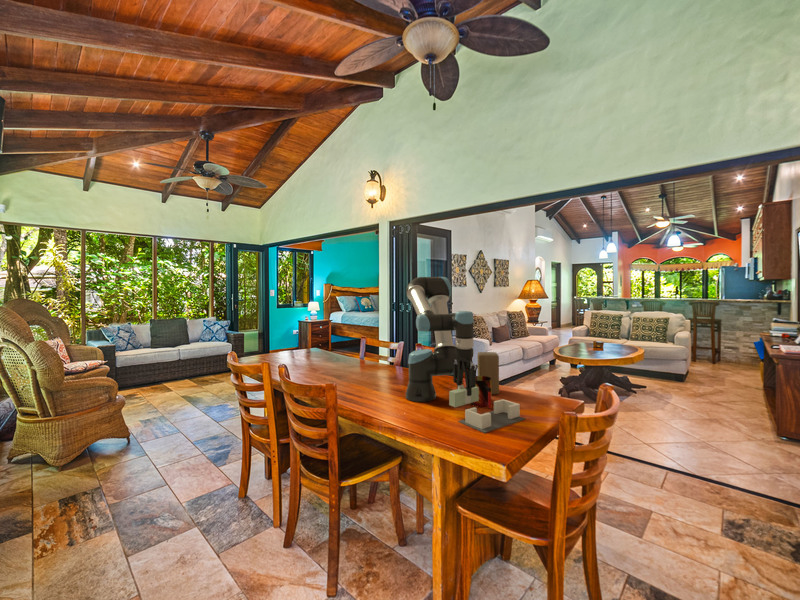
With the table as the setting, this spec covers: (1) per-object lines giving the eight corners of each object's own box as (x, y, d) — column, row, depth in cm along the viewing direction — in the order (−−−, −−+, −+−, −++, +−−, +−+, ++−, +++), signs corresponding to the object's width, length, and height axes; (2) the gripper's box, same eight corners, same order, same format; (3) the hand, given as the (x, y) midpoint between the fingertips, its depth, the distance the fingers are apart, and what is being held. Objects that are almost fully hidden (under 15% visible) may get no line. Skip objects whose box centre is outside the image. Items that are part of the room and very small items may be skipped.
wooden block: (477, 388, 191) (477, 351, 190) (496, 389, 190) (496, 351, 189) (479, 394, 181) (478, 355, 180) (499, 394, 180) (499, 355, 179)
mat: (458, 421, 144) (458, 420, 144) (498, 410, 157) (498, 409, 157) (484, 433, 132) (484, 432, 132) (525, 419, 146) (525, 418, 146)
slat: (449, 405, 151) (449, 391, 151) (472, 398, 159) (472, 385, 159) (455, 407, 148) (455, 393, 148) (478, 400, 156) (478, 387, 156)
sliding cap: (493, 413, 152) (493, 401, 152) (503, 410, 155) (503, 398, 155) (510, 419, 145) (510, 407, 144) (520, 415, 148) (520, 404, 148)
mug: (490, 411, 156) (489, 383, 156) (466, 403, 167) (465, 378, 167) (503, 406, 162) (503, 380, 162) (479, 399, 173) (479, 374, 173)
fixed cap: (465, 422, 143) (465, 409, 142) (474, 419, 145) (474, 407, 145) (481, 429, 135) (481, 416, 135) (491, 426, 138) (491, 413, 138)
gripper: (444, 345, 157) (444, 397, 158) (472, 351, 143) (471, 409, 145) (457, 343, 161) (457, 394, 162) (485, 349, 147) (484, 405, 149)
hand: (464, 401), depth 154 cm, fingers closed on slat, 3 cm apart
